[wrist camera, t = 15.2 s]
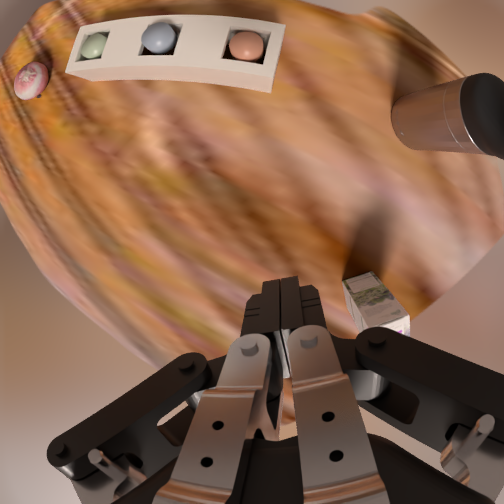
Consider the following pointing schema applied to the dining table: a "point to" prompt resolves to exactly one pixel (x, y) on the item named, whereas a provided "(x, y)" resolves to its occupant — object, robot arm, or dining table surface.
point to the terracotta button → (246, 47)
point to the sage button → (94, 46)
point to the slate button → (159, 38)
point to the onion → (31, 81)
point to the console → (180, 51)
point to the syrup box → (374, 304)
